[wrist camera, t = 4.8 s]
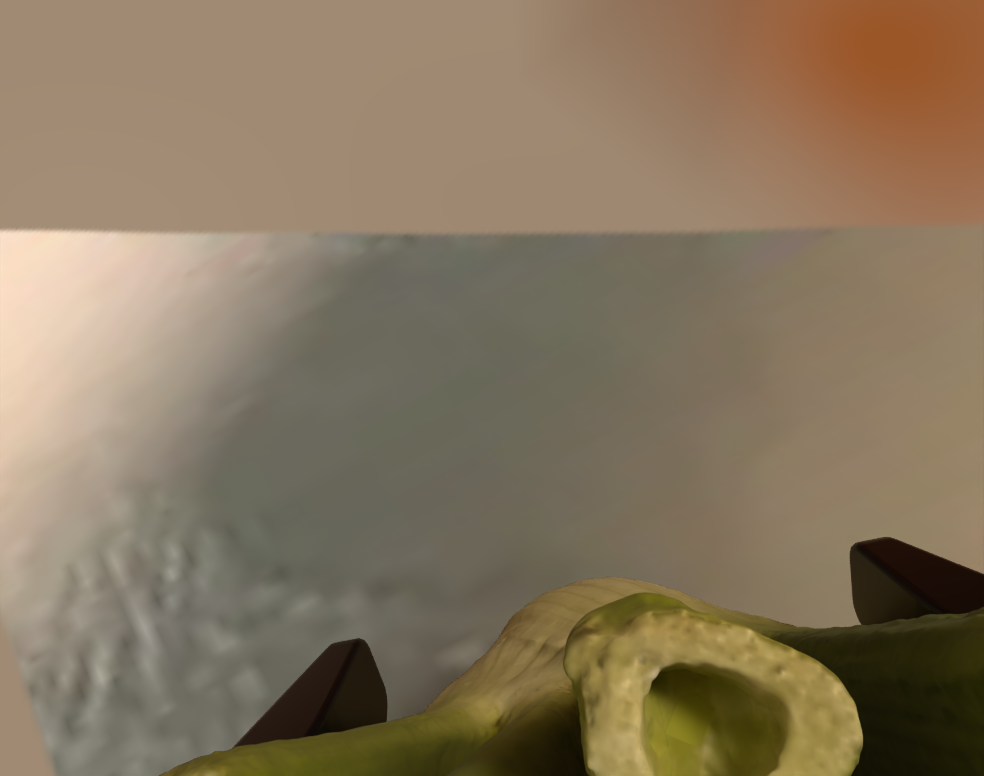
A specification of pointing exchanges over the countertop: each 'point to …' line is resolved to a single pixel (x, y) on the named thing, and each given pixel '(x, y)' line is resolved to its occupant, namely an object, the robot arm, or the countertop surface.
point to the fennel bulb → (672, 699)
